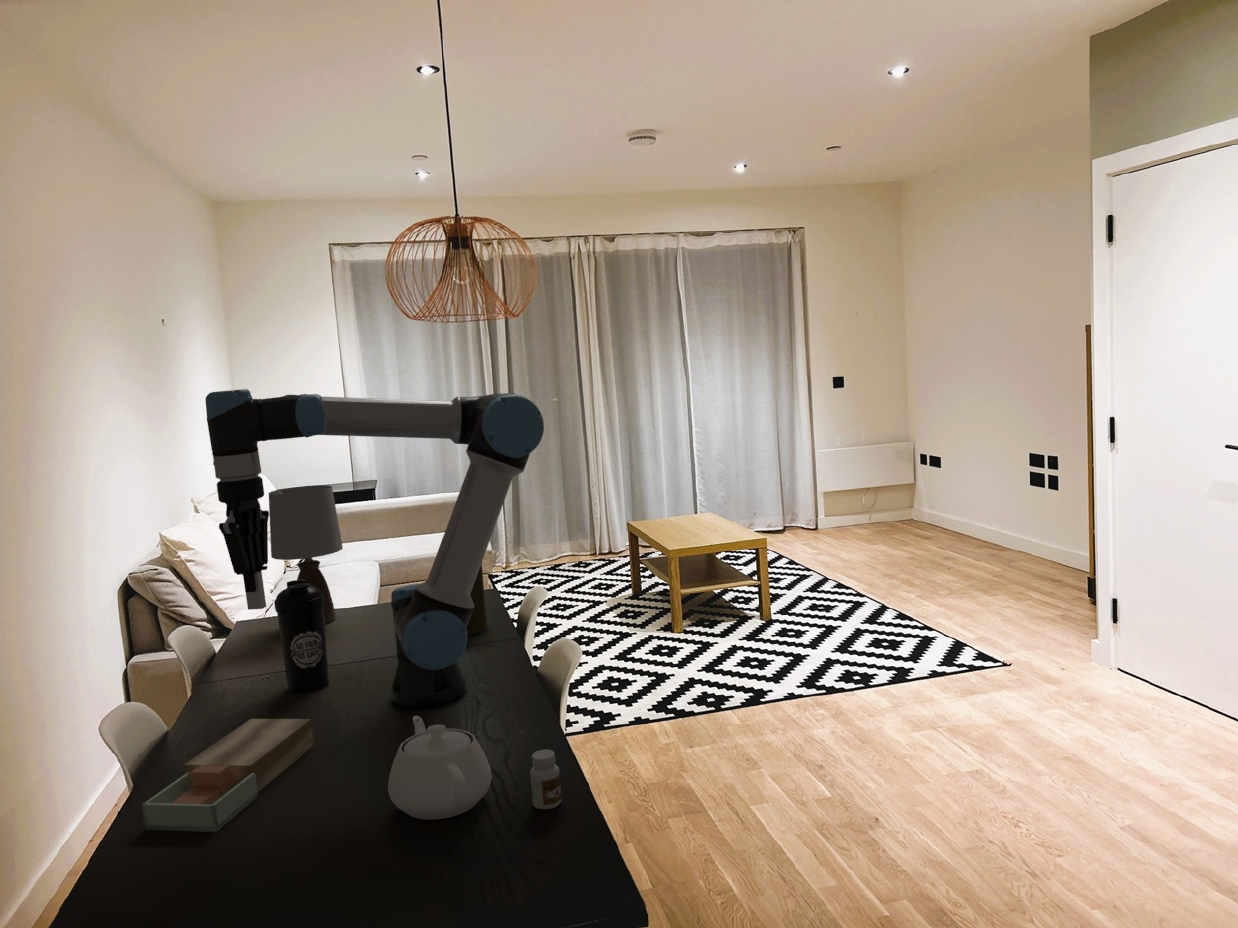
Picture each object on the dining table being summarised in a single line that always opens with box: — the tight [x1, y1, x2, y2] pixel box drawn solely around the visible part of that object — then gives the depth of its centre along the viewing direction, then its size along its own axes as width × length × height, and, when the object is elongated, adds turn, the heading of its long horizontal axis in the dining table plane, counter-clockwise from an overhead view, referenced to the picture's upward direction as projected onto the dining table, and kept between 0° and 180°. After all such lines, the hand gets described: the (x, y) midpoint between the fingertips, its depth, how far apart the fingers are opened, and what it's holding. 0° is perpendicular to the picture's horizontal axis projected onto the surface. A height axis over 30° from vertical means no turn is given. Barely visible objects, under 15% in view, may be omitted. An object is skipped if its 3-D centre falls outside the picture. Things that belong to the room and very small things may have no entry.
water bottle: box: [274, 579, 330, 694], centre depth 198 cm, size 10×10×23 cm
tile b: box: [172, 788, 221, 804], centre depth 141 cm, size 5×5×2 cm
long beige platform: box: [183, 718, 315, 793], centre depth 157 cm, size 12×19×5 cm, turn 170°
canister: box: [466, 562, 489, 636], centre depth 233 cm, size 11×10×20 cm
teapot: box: [387, 715, 492, 821], centre depth 140 cm, size 25×16×12 cm, turn 27°
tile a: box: [191, 765, 232, 797], centre depth 145 cm, size 5×5×2 cm
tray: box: [141, 772, 259, 833], centre depth 142 cm, size 12×11×4 cm
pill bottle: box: [529, 749, 562, 810], centre depth 137 cm, size 4×4×8 cm
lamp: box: [268, 484, 344, 625], centre depth 251 cm, size 19×19×37 cm
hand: (257, 607), depth 163 cm, fingers closed
